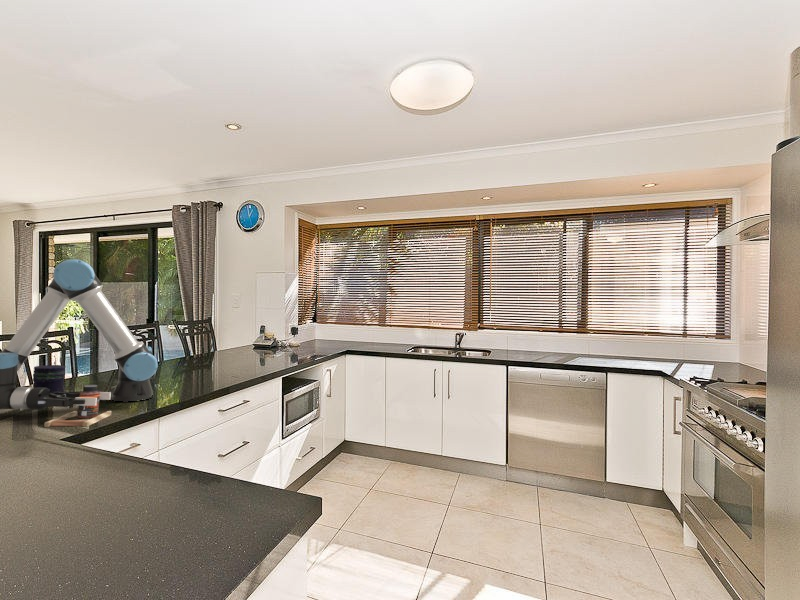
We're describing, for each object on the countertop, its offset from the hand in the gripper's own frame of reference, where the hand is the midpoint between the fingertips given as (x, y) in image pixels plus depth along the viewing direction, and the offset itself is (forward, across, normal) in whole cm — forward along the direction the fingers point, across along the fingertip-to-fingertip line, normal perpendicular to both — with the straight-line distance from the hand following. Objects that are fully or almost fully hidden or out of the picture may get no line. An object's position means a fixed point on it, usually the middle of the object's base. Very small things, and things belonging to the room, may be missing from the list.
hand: (103, 398), depth 146 cm
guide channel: (-5, +5, -7) cm, 9 cm away
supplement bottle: (-5, 0, -7) cm, 8 cm away
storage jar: (-30, -21, -7) cm, 37 cm away
